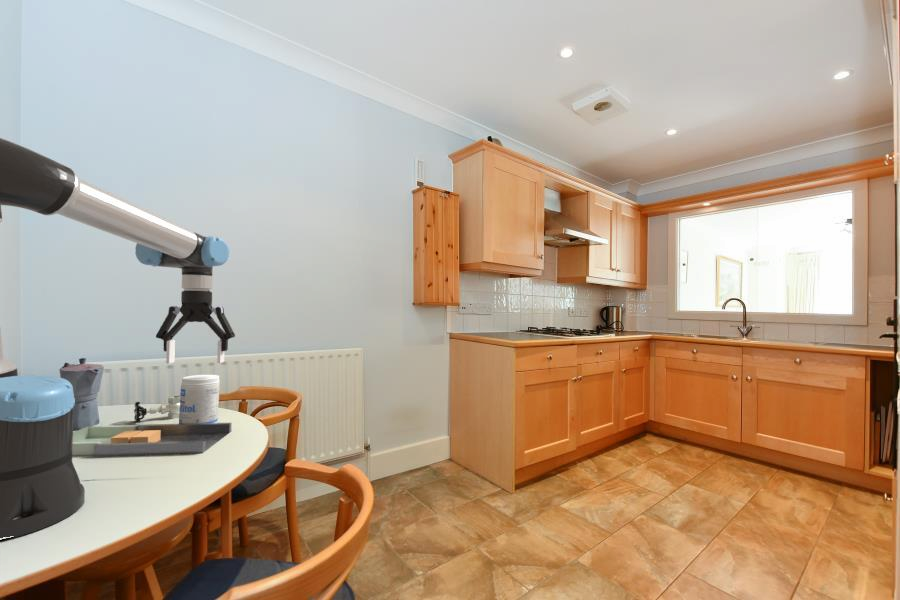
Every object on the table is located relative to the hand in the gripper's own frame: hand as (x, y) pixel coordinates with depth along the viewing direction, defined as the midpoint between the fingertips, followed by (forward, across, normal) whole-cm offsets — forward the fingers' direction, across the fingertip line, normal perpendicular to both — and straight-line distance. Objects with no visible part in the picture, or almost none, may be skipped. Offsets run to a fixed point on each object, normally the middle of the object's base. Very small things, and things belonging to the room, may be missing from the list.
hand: (195, 362), depth 111 cm
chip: (+19, +10, +13) cm, 25 cm away
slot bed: (+19, 0, +13) cm, 23 cm away
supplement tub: (+19, -1, 0) cm, 19 cm away
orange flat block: (+19, +6, +13) cm, 23 cm away
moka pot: (+19, +34, -4) cm, 39 cm away
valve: (+19, +14, -9) cm, 26 cm away
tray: (+19, +18, +12) cm, 29 cm away
